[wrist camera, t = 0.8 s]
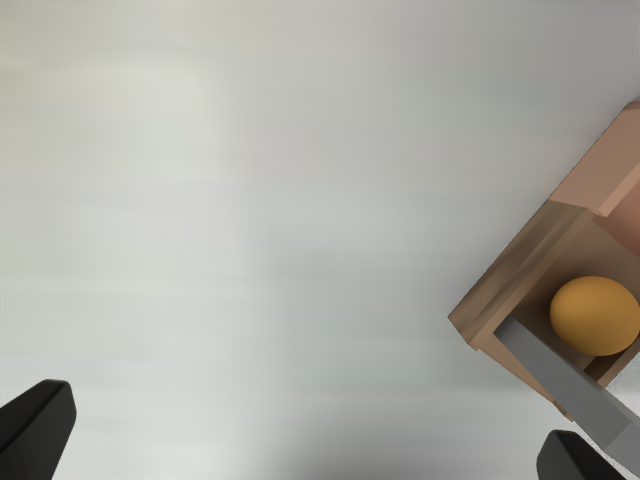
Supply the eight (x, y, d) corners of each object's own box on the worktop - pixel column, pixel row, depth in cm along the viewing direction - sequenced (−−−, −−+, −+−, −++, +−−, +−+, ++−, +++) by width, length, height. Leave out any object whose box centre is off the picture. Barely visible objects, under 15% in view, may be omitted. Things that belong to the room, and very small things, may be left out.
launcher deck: (537, 384, 26) (572, 422, 22) (447, 317, 25) (468, 344, 22) (639, 273, 25) (693, 294, 21) (547, 199, 24) (587, 207, 20)
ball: (616, 325, 23) (669, 356, 19) (545, 346, 23) (584, 380, 19) (601, 258, 22) (653, 277, 19) (528, 280, 22) (566, 303, 19)
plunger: (564, 386, 23) (716, 535, 14) (492, 332, 22) (602, 450, 13) (580, 368, 23) (745, 507, 14) (509, 313, 22) (632, 420, 13)
